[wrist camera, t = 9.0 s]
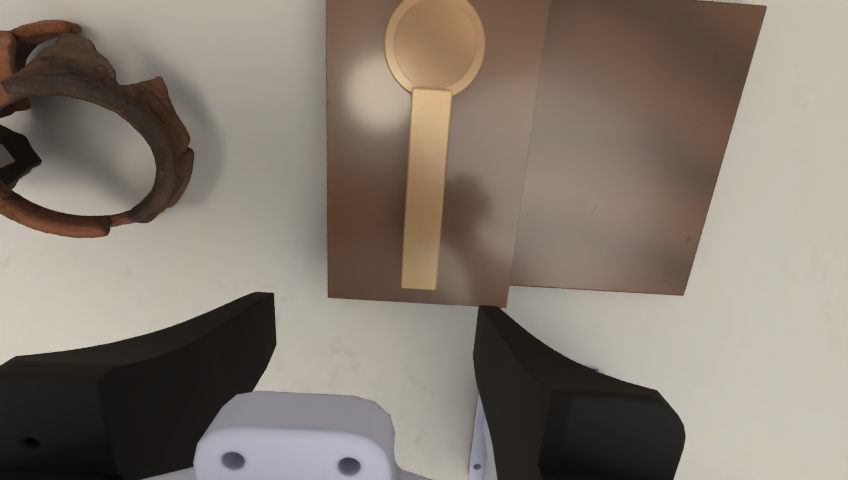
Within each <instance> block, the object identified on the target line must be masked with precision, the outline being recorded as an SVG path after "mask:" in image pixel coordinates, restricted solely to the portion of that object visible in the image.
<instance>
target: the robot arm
mask: <svg viewBox="0 0 848 480" xmlns="http://www.w3.org/2000/svg"><path fill="white" fill-rule="evenodd" d="M275 347H276V326H275V307H274V293H267V292H254V293H251V294H248V295H246V296H243V297H241V298H239V299H236V300H234V301H232V302H230V303H227V304H225V305H223V306H221V307H218V308H216V309H214V310H212V311H210V312H207V313H205V314H202V315H200V316H197V317H195V318H192V319H190V320H187V321H185V322H182V323H180V324H177V325H174V326H171V327H168V328H165V329H162V330H159V331H156V332H153V333H149V334H146V335H142V336H138V337H134V338H130V339H126V340H122V341H117V342H113V343H108V344H103V345H98V346H93V347H87V348H81V349H75V350H68V351H60V352H52V353H43V354H34V355H24V356H16V357H14V358H12V359H10V360H9V361H7V362H5V363H4V364H2V365H0V480H432V479H429V478H426V477H423V476H420V475H417V474H414V473H411V472H408V471H405V470H402V469H401V468H400V467H398V466H397V464H396V462H395V457H394V441H395V431H394V427H393V424H392V420H391V416H390V415H389V414H388V413H387V412H386V411H385V410H384V409H383V408H381V407H380V406H379V405H378V404H377V403H376V402H374V401H371V400H367V399H363V398H360V397H356V396H347V395H328V394H309V393H290V392H271V391H255V392H252V391H253V389H254V388H255V386H256V385H257V383H258V381H259V380H260V378H261V376H262V375H263V373H264V371H265V370H266V368H267V366H268V363H269V361H270V359H271V357H272V354H273V352H274V349H275ZM473 360H474V369H475V377H476V382H477V386H478V390H479V393H478V401H477V409H476V416H475V424H474V432H473V440H472V447H471V455H470V463H469V470H468V476H469V480H673V479H674V476H675V473H676V470H677V467H678V464H679V461H680V458H681V455H682V452H683V449H684V443H685V437H686V436H685V430H684V425H683V423H682V421H681V419H680V418H679V416H678V414H677V413H676V412H675V411H674V410H673V408H672V407H671V406H670V405H669V404H668V403H667V401H666V400H665V399H664V398H663V397H662V395H661V394H660V393H659V392H658V391H657V390H653V389H650V388H646V387H643V386H639V385H635V384H632V383H628V382H625V381H621V380H619V379H616V378H613V377H610V376H607V375H605V374H603V373H601V372H599V371H595V370H592V369H590V368H588V367H586V366H583V365H581V364H579V363H577V362H575V361H573V360H571V359H569V358H567V357H565V356H564V355H562V354H560V353H558V352H557V351H555V350H553V349H552V348H550V347H548V346H547V345H545V344H544V343H542V342H541V341H540V340H538V339H537V338H535V337H534V336H533V335H531V334H530V333H529V332H527V331H526V330H525V329H524V328H522V327H521V326H520V325H519V324H518V323H516V322H515V321H514V320H513V319H512V318H511V317H509V316H508V315H507V314H506V313H505V312H503V311H502V310H501V309H500V308H499V307H497V306H488V305H479V310H478V318H477V326H476V335H475V343H474V351H473ZM475 464H478V465H475Z"/></svg>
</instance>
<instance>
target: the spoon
mask: <svg viewBox="0 0 848 480" xmlns="http://www.w3.org/2000/svg"><path fill="white" fill-rule="evenodd" d="M485 50H486V38H485V31H484V27H483V24H482V21H481V19H480V17H479V15H478V13H477V11H476V10H475V8H474V7H473V6H472V5H471V4H470V3H469V2H468V1H467V0H403V1H402V2H401V3H400V4H399V5H398V6H397V7H396V8H395V10H394V11H393V13H392V15H391V17H390V19H389V21H388V23H387V26H386V30H385V35H384V54H385V59H386V62H387V65H388V68H389V70H390V72H391V74H392V76H393V77H394V79H395V80H396V81H397V83H398V84H399V85H400V86H401V87H402V88H403V89H404V90H405V91H407V92H408V93H410V94H411V108H410V127H409V145H408V164H407V182H406V201H405V219H404V238H403V256H402V275H401V287H402V288H409V289H426V290H435V289H436V286H437V274H438V262H439V250H440V238H441V226H442V214H443V202H444V190H445V178H446V166H447V154H448V142H449V130H450V118H451V106H452V97H453V96H455V95H457V94H458V93H460V92H462V91H463V90H464V89H466V88H467V87H468V86H469V85H470V84H471V83H472V81H473V80H474V79H475V78H476V76H477V74H478V73H479V71H480V68H481V66H482V64H483V60H484V56H485Z"/></svg>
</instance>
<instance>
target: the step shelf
mask: <svg viewBox="0 0 848 480" xmlns="http://www.w3.org/2000/svg"><path fill="white" fill-rule="evenodd" d="M402 1H403V0H326V89H327V253H328V298H342V299H359V300H376V301H393V302H410V303H427V304H444V305H461V306H479V305H488V306H497V307H499V308H506V304H507V297H508V290H509V285H513V286H530V287H547V288H563V289H580V290H597V291H613V292H630V293H647V294H663V295H680V296H683V295H684V292H685V289H686V286H687V282H688V279H689V275H690V272H691V268H692V265H693V261H694V258H695V254H696V251H697V248H698V244H699V241H700V237H701V234H702V230H703V227H704V223H705V220H706V216H707V213H708V209H709V206H710V203H711V199H712V196H713V192H714V189H715V185H716V182H717V178H718V175H719V171H720V168H721V164H722V161H723V158H724V154H725V151H726V147H727V144H728V140H729V137H730V133H731V130H732V126H733V123H734V119H735V116H736V113H737V109H738V106H739V102H740V99H741V95H742V92H743V88H744V85H745V81H746V78H747V75H748V71H749V68H750V64H751V61H752V57H753V54H754V50H755V47H756V43H757V40H758V36H759V33H760V30H761V26H762V23H763V19H764V16H765V12H766V9H767V6H764V5H751V4H738V3H725V2H713V1H700V0H467V1H468V2H469V3H470V4H471V5H472V6H473V7H474V8H475V10H476V11H477V13H478V15H479V17H480V19H481V21H482V24H483V27H484V31H485V38H486V50H485V56H484V60H483V64H482V66H481V68H480V71H479V73H478V74H477V76H476V78H475V79H474V80H473V81H472V83H471V84H470V85H469V86H468V87H467V88H466V89H464V90H463V91H462V92H460V93H458V94H457V95H455V96H453V97H452V106H451V118H450V130H449V142H448V154H447V166H446V178H445V190H444V202H443V214H442V226H441V238H440V250H439V262H438V274H437V286H436V289H435V290H426V289H409V288H402V287H401V275H402V256H403V238H404V219H405V201H406V182H407V164H408V145H409V127H410V108H411V94H410V93H408V92H407V91H405V90H404V89H403V88H402V87H401V86H400V85H399V84H398V83H397V81H396V80H395V79H394V77H393V76H392V74H391V72H390V70H389V68H388V65H387V62H386V59H385V54H384V35H385V30H386V26H387V23H388V21H389V19H390V17H391V15H392V13H393V11H394V10H395V8H396V7H397V6H398V5H399V4H400V3H401V2H402Z"/></svg>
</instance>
